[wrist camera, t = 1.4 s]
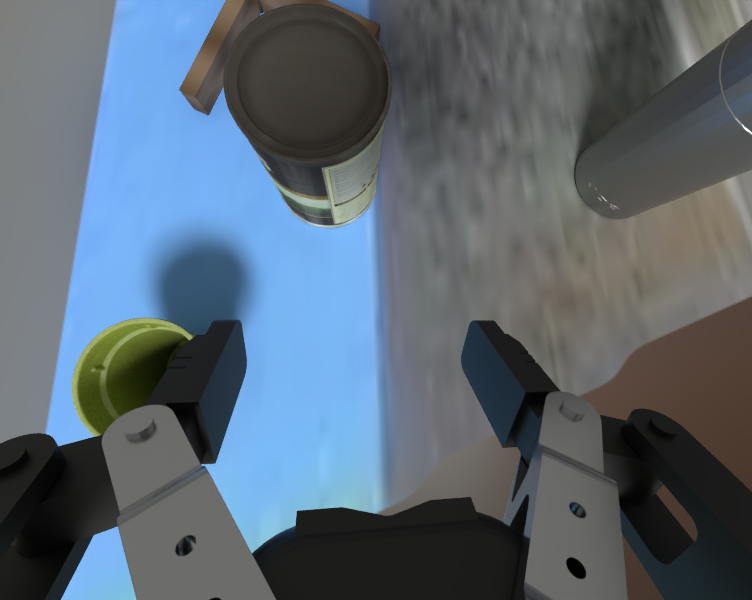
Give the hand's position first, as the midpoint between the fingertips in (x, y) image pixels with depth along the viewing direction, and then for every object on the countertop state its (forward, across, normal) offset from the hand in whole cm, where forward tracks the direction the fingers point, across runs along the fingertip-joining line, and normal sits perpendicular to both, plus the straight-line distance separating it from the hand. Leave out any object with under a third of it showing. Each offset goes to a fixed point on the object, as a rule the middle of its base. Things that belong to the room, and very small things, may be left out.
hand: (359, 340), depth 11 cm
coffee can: (+27, +1, -1) cm, 27 cm away
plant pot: (+17, +14, +16) cm, 27 cm away
